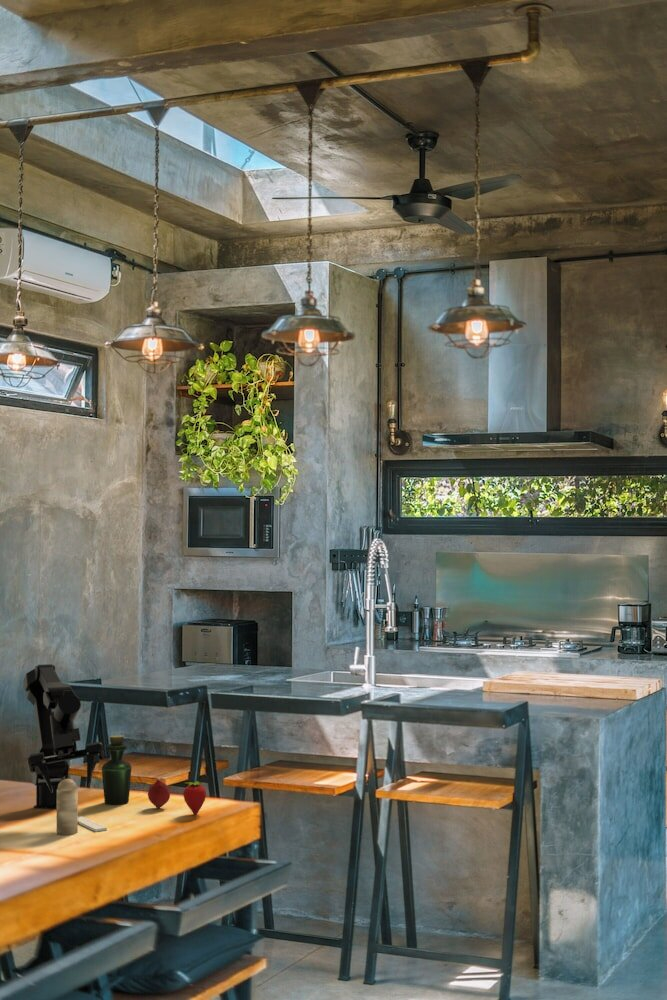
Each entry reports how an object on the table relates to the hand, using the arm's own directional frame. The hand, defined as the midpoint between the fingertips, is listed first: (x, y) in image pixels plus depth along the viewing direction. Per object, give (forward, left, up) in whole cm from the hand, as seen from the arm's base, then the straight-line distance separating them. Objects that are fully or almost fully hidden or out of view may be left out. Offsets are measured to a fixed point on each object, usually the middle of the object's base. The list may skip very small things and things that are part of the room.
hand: (70, 788), depth 305 cm
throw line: (+5, 0, -9) cm, 10 cm away
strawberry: (+27, +17, -9) cm, 33 cm away
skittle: (+3, -9, -9) cm, 13 cm away
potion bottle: (+1, +28, -9) cm, 29 cm away
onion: (+15, +23, -9) cm, 29 cm away
